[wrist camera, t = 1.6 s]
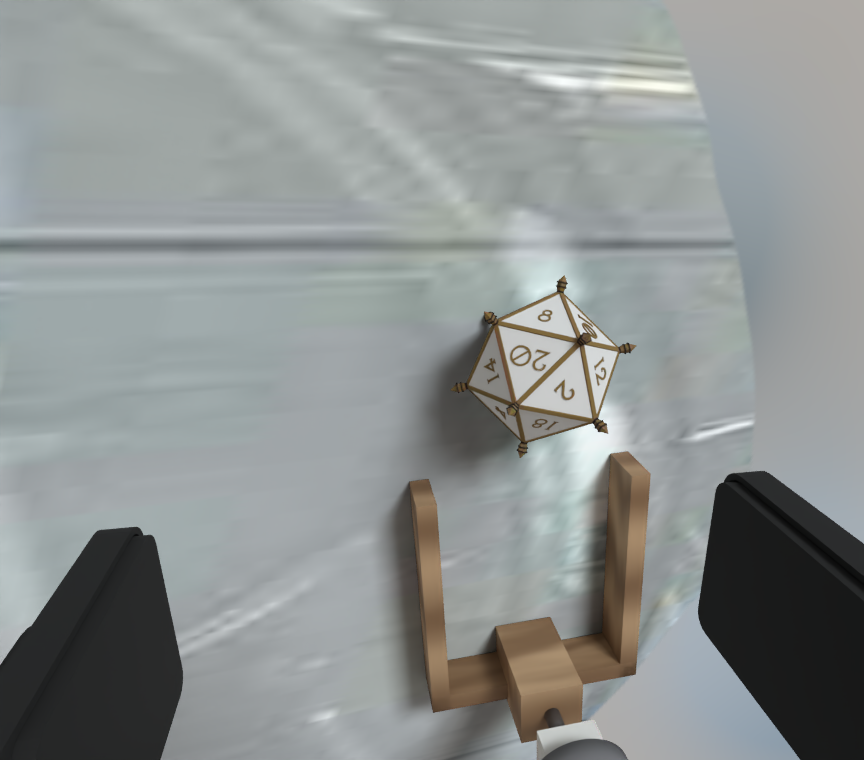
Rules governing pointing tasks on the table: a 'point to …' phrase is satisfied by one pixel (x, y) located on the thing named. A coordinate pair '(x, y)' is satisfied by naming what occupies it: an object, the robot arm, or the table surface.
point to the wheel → (576, 743)
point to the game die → (544, 369)
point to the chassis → (540, 621)
